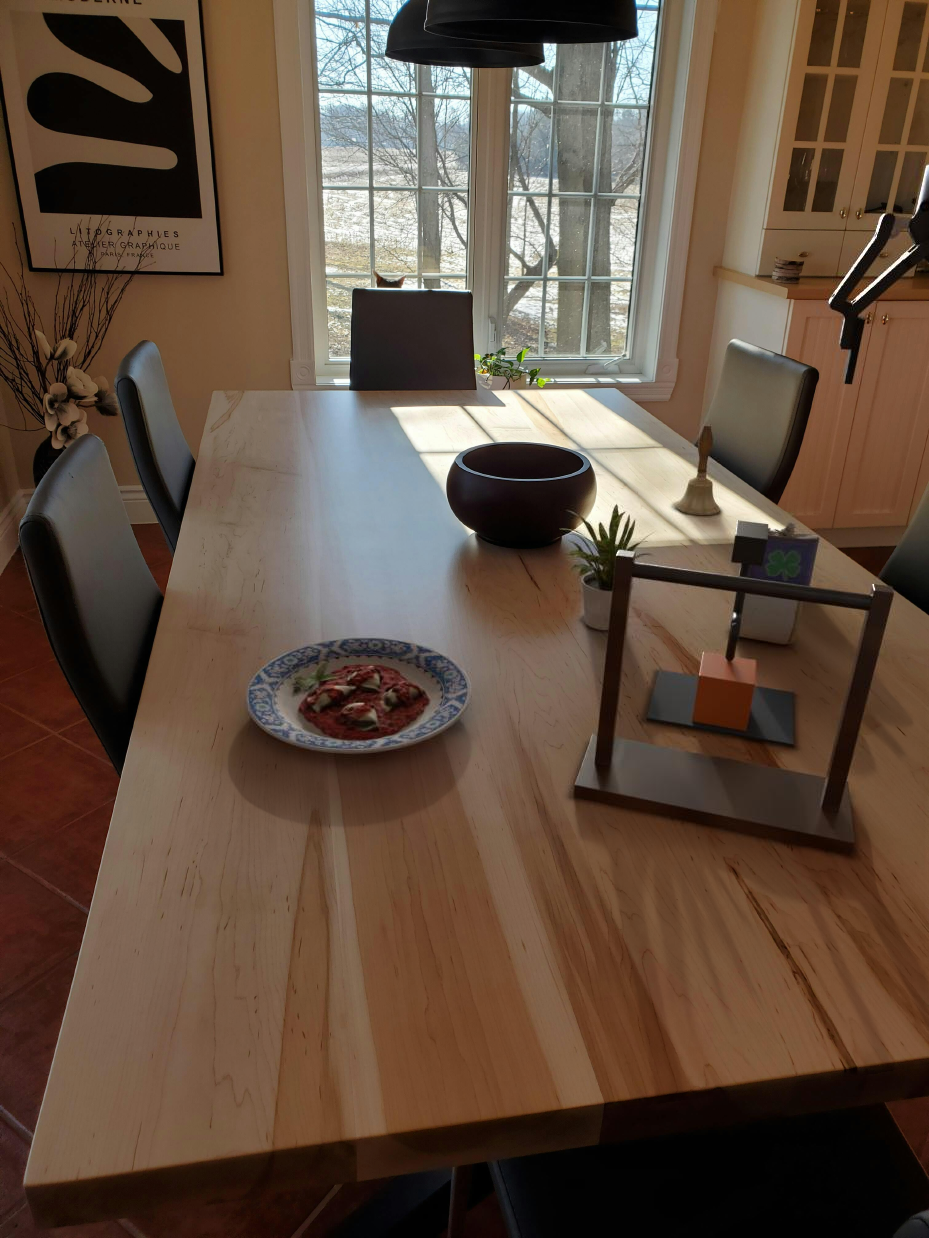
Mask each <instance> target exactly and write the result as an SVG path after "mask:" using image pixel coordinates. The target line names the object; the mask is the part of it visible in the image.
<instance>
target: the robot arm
mask: <svg viewBox="0 0 929 1238" xmlns="http://www.w3.org/2000/svg"><path fill="white" fill-rule="evenodd" d="M923 174H924V175H923V179H922V184H921V189H920V193H919V196H918V197H919V198H918V202H917V205H916V209H915V210H914V213H913V214H912V215H911V217H909V216H908V217H907V216H902V215H901V216H900V215H895V214H894V213H891V212H884V213H883V214H881V216H880V217H879V220H878V223H877V226H876V229H875V233H874V235H873V237H872V239H870V242H869V243H868V244H867V245H866V247H865V248H864V250H863V251H862V253H861V254H860V256H859V257H858V259H857V260H856V261H855V262H854V264H853V265H852V267H851V268H850V269H849V271H848V273H847V274H846V275H845V277H844V278H843V279H842V281H841V282H840V284H839V285H838V287H837V288H836V289H835V291H834V292H833V294H832V295H831V297H830V298H829V300H828V306H829V308H830V309H831V310H832V311H835V312H837V313H839V314H842V315H843V322H842V326H841V333H840V338H839V342H838V343H839V348H840V350H846V351H848V352H847V358H846V362H845V368H844V372H843V377H842V380H843V384H844V385H853V382H854V377H855V372H856V368H857V363H858V358H859V352H860V349H861V344H862V339H863V334H864V329H865V325H866V318H865V317H864V316H861V315H860V314H861V313H863V312H864V311H865V310H866V309H867V308H868V307H869V306H871V305H872V304H873V303H874V302H875V301H876V300H877V299H878V298H879V297H881V296H882V295H883V294H884V293H885V292H886V291H888V289H890V288H891V287H892V286H893V285H894V284H895V283H897V282H898V281H899V280H900V279H901V278H902V277H903V276H904V275H906V274H907V273H908V272H909V271H910V270H911V269H913V268H914V267H916V266H917V265H919V263H920V262H921V261H923V262H924V263H926V264H928V265H929V164H927V165H926V166H925V170H924V173H923ZM903 230H907V232H908V235H909V237H910V239H911V240H912V244H913V245H912V246H911V247H910V248H908V249H907V251H905V252H904V253H903V254H902V255H901V256H900V258H898V259H897V260H896V261H895V262H894V263H893V264H891V266H889V267H888V268H887V269H886V270H884V272H883V273H882V274H880V276H878V277H877V278H876V279H875V280H874V281H873V282H872V283H871V284H869V285H868V286H867V287H866V288H865V289H864V290H863V291H862V292H860V294H858V295H857V296H856V297H855V298H854V299H853V300H852V301H849V300H848V298H849V297H850V296H851V294H852V293H853V291H854V290H855V288H856V287H857V286H858V284H859V283H860V282H861V280H862V279H863V278H864V276H865V275H866V273H867V272H868V270H869V269H870V268H871V267H872V265H873V263H874V262H875V261H876V259H877V258H878V256H879V255H880V254H881V252H882V251H883V250H884V248H885V247H886V245H887V243H888V242H889V240H890V239H892V240H893V239H896V238H897V237H898V236H899V235H900V234H901V232H902V231H903Z"/></svg>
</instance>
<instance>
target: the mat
mask: <svg viewBox="0 0 929 1238" xmlns="http://www.w3.org/2000/svg"><path fill="white" fill-rule="evenodd" d="M698 678H699V675H694V674H688V673H682V672H677V671H676V672H675V671H670V670H665V669H664V670H663V669H659V671H658V674H657V678H656V680H655V681H656V682H655V685H654V689H653V693H652V697H651V701H650V704H649V708H648V711H647V714H646V715H647V716H646V721H649V722H653V723H660V724H665V725H671V726H676V727H681V728H685V729H692V730H697V731H701V732H702V731H703V732H708V733H713V734H718V735H719V734H720V735H725V736H729V737H734V738H735V737H736V738H742V739H747V740H752V741H758V742H763V743H768V744H774V745H779V746H784V747H790V748H794V745H795V741H794V740H795V739H794V736H795V734H794V730H795V729H794V692H793V691H788V690H783V689H777V688H771V687H766V686H759V685H755V688H754V693H753V699H752V704H751V709H750V714H749V720H748V725H747V730H746V731H743V730H737V729H732V728H726V727H721V726H715V725H710V724H704V723H699V722H693V721H692V716H693V710H694V703H695V697H696V691H697V684H698Z"/></svg>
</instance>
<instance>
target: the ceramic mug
mask: <svg viewBox="0 0 929 1238" xmlns="http://www.w3.org/2000/svg"><path fill="white" fill-rule="evenodd" d="M803 606H804V602H802V601H795V600H788V599H781V598H774V597H767V596H760V595H753V594H745V600H744V605H743V611H742V618H741V628H740V634H739V638H740V637H741V638H746V639H750V640H755V641H756V640H757V641H761V642H767V643H773V644H777V645H790V644H792V643H793V642H795V639H796V636H797V632H798V628H799V624H800V619H801V615H802V611H803Z"/></svg>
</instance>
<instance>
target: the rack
mask: <svg viewBox="0 0 929 1238" xmlns="http://www.w3.org/2000/svg"><path fill="white" fill-rule="evenodd" d="M636 554H637V552H636V551H633V552H632V551H626V550H619V551H618V553H617V555H616V561H615V571H614V580H613V590H612V599H611V609H610V619H609V628H608V630H607V637H606V647H605V656H604V667H603V675H602V686H601V696H600V705H599V716H598V725H597V733H595V732H593V733H592V735H591V737H590V740H589V742H588V743H589V744H588V746H587V749H586V752H585V754H584V758H583V760H582V762H581V766H580V769H579V771H578V774H577V777H576V779H575V783H574V784H573V785H574V786H573V798H576V799H581V800H586V801H590V802H595V803H596V802H597V803H600V804H605V805H610V806H615V807H619V808H623V809H627V810H628V809H629V810H632V811H633V810H634V811H638V812H642V813H643V812H644V813H647V814H651V815H657V816H662V817H667V818H671V819H676V820H679V821H686V822H691V823H694V824H698V825H699V824H700V825H704V826H709V827H714V828H717V829H718V828H720V829H722V830H727V831H728V830H729V831H732V832H737V833H742V834H746V835H751V836H757V837H761V838H766V839H771V840H775V841H781V842H785V843H789V844H795V845H799V846H804V847H809V848H814V849H817V850H818V849H819V850H823V851H828V852H833V853H837V854H841V855H847V856H852V855H853V851H854V848H855V844H856V842H855V833H854V832H855V831H854V824H853V814H852V813H853V812H852V803H851V795H850V794H851V793H850V785H849V781H848V777H849V773H850V768H851V766H852V761H853V756H854V753H855V750H856V746H857V742H858V738H859V733H860V730H861V726H862V722H863V719H864V718H863V717H864V714H865V710H866V706H867V702H868V698H869V694H870V690H871V687H872V684H873V683H872V682H873V679H874V675H875V670H876V667H877V663H878V659H879V655H880V650H881V647H882V645H883V644H882V643H883V639H884V635H885V632H886V627H887V623H888V620H889V616H890V612H891V608H892V604H893V600H894V596H895V591H894V588H893V586H891V585H884V584H876V583H873V584H872V586H871V589H870V593H863V592H861V593H860V592H853V591H846V590H840V589H839V590H838V589H832V588H825V587H818V586H811V585H810V586H803V585H796V584H789V583H781V582H774V581H767V580H760V579H752V578H745V577H739V575H729V574H724V573H723V574H721V573H716V572H715V573H714V572H710V571H709V572H708V571H700V570H693V569H685V568H679V567H672V566H665V565H658V564H657V565H656V564H651V563H643V562H636V559H635V557H636V556H637V555H636ZM634 579H641V580H648V581H656V582H661V583H669V584H675V585H676V584H677V585H684V586H691V587H697V588H703V589H704V588H705V589H711V590H717V591H724V592H725V591H726V592H734V593H736V592H739V593H746V594H753V595H760V596H767V597H774V598H781V599H788V600H795V601H802V602H803V603H810V604H818V605H823V606H831V607H839V608H844V609H853V610H860V611H865V614H864V619H863V623H862V627H861V631H860V635H859V639H858V642H857V647H856V652H855V655H854V660H853V664H852V668H851V672H850V676H849V679H848V680H849V681H848V684H847V689H846V693H845V697H844V701H843V706H842V710H841V712H840V713H841V714H840V717H839V722H838V726H837V729H836V734H835V737H834V743H833V747H832V750H831V754H830V759H829V764H828V768H827V772H826V775H825V776H821V775H815V774H810V773H805V772H801V771H795V770H790V769H784V768H778V767H774V766H769V765H763V764H760V763H759V764H758V763H753V762H747V761H743V760H737V759H732V758H727V757H722V756H716V755H711V754H706V753H702V752H701V753H700V752H695V751H690V750H684V749H679V748H674V747H669V746H663V745H659V744H653V743H647V742H643V741H638V740H632V739H627V738H623V737H616V730H617V720H618V712H619V711H618V710H619V703H620V694H621V685H622V677H623V668H624V659H625V650H626V642H627V633H628V624H629V616H630V608H631V607H630V606H631V600H632V599H631V598H632V591H633V588H632V582H633V583H634Z"/></svg>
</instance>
